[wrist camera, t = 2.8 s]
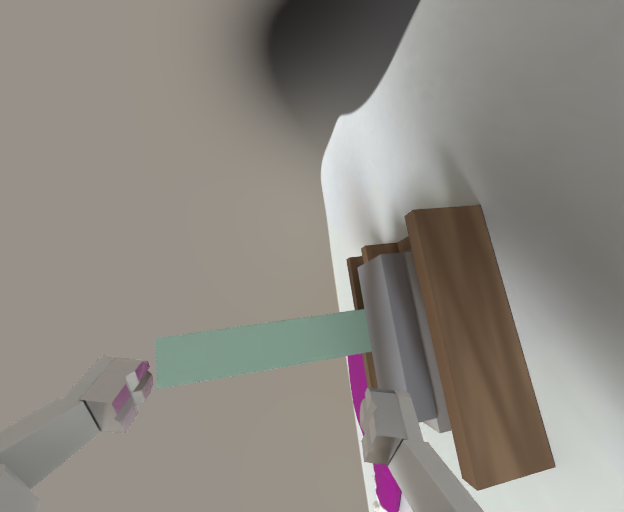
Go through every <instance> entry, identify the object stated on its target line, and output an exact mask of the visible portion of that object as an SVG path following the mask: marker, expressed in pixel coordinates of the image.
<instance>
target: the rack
mask: <svg viewBox="0 0 624 512" xmlns="http://www.w3.org/2000/svg"><path fill="white" fill-rule="evenodd" d="M405 220H406V225H407V230H408V234H409V236H408V237H406V238H405V239H403V240H401V241H400V242H398V243H389V244H379V245H368V246H364V247H363V248H361V251H362V256H360V257H350V258H348V259H347V266H348V272H349V278H350V284H351V290H352V296H353V302H354V308H355V310H360V309H364V303H363V297H362V292H361V286H360V280H359V274H358V269H357V268H358V267H359V266H361V265H363V264H365V263H366V262H368V261H370V260H372V259H373V258H375V257H377V256H379V255H380V254H390V253H400V252H404V251H406V250H408V249H410V248H412V252H413V257H414V261H415V266H416V270H417V275H418V279H419V284H420V289H421V293H422V298H423V302H424V307H425V311H426V316H427V320H428V325H429V329H430V334H431V338H432V343H433V347H434V352H435V357H436V361H437V366H438V370H439V375H440V379H441V384H442V388H443V393H444V397H445V402H446V406H447V411H448V415H449V420H450V425H451V429H452V434H453V438H454V443H455V447H456V452H457V456H458V461H459V465H460V470H461V474H462V479H464V480H465V481H466V482H467V483H469V484H470V485H471V486H472V487H474V488H475V489H476V490H477V491H478V490H482V489H485V488H488V487H492V486H495V485H498V484H501V483H505V482H508V481H511V480H514V479H518V478H521V477H524V476H528V475H531V474H534V473H537V472H541V471H544V470H547V469H550V468H554V467H555V464H554V461H553V457H552V454H551V450H550V447H549V443H548V440H547V436H546V433H545V429H544V426H543V422H542V419H541V415H540V412H539V408H538V405H537V401H536V398H535V394H534V391H533V387H532V384H531V380H530V377H529V373H528V370H527V366H526V363H525V359H524V356H523V352H522V349H521V345H520V342H519V338H518V335H517V331H516V328H515V324H514V321H513V317H512V314H511V310H510V307H509V303H508V300H507V296H506V293H505V290H504V286H503V283H502V279H501V276H500V272H499V269H498V265H497V262H496V258H495V255H494V251H493V248H492V244H491V241H490V237H489V234H488V230H487V227H486V223H485V220H484V216H483V213H482V209H481V206H480V205H477V206H462V207H447V208H433V209H418V210H412V211H411V212H410V213H408V214H407V215H406V216H405ZM362 356H363V362H364V368H365V374H366V380H367V386H368V388H377V389H378V384H377V378H376V372H375V366H374V361H373V355H372V352H366V353H362Z"/></svg>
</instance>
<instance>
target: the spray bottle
mask: <svg viewBox="0 0 624 512" xmlns="http://www.w3.org/2000/svg"><path fill="white" fill-rule="evenodd" d="M348 365H349V375H350V383H351V390H352V397H353V404H354V408H355V412H356V416H357V419H358V422H359V425H360V407H361V403H362V400H363V399H365V392H366V389H367V388H368V386H367V380H366V374H365V368H364V362H363V356H362V353H361V354H355V355H349V356H348ZM360 428H361V426H360ZM361 430H362V428H361ZM362 433H363V436H364V434H365V433H364V431H363V430H362ZM373 465H374V471H375V475H374V476H373V480H374V485H375V491H376V496H377V501H374V503H373V508H374V510H375V512H398V511H399V505H400V498H401V489H400V487H399V486H398V484H397V482H396V480H395V479H394V477H393V475H392V473H391V471H390V470H389V468H388V465H383V464H376V463H373Z"/></svg>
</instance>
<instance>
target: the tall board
mask: <svg viewBox="0 0 624 512" xmlns="http://www.w3.org/2000/svg"><path fill="white" fill-rule="evenodd" d="M366 352H372V349H371V343H370V338H369V332H368V326H367V320H366V315H365V309H360V310H353V311H346V312H339V313H332V314H325V315H318V316H311V317H304V318H297V319H289V320H282V321H276V322H269V323H262V324H255V325H247V326H240V327H234V328H225V329H218V330H212V331H205V332H198V333H190V334H183V335H176V336H169V337H163V338H157V339H156V371H157V372H156V376H157V389H160V388H165V387H171V386H177V385H183V384H188V383H194V382H200V381H205V380H211V379H217V378H223V377H229V376H234V375H239V374H246V373H251V372H257V371H263V370H269V369H275V368H280V367H286V366H292V365H298V364H303V363H308V362H314V361H320V360H326V359H332V358H337V357H343V356H349V355H355V354H361V353H366Z"/></svg>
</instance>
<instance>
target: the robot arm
mask: <svg viewBox="0 0 624 512" xmlns="http://www.w3.org/2000/svg"><path fill="white" fill-rule="evenodd" d="M149 367H150V366H149V363H148V361H143V360H136V359H129V358H121V357H115V356H106V355H103V356H102V357H100V358H99V359H97V360H96V362H95V363H94V364H93V365H92V366H91V367H90V368H89V369H88V370H87V372H86V373H85V374H84V375H83V376H82V377H81V378H80V379H79V381H78V382H77V383H76V384H75V385H74V386H73V387H72V388H71V389H70V390H69V392H68V393H67V394H66V395H65V396H64V397H63V398H57V399H55V400H54V401H52V402H50V403H48V404H46V405H45V406H43V407H41V408H40V409H38V410H36V411H34V412H32V413H31V414H29V415H27V416H25V417H24V418H22V419H20V420H18V421H17V422H15V423H13V424H11V425H9V426H8V427H6V428H4V429H2V430H1V431H0V512H36V510H37V509H38V507H39V506H40V503H41V502H40V501H41V500H40V498H39V497H38V496H37V495H36V494H35V493H34V492H33V491H32V490H31V489H32V488H33V487H34V486H36V485H37V484H38V483H39V482H41V481H42V480H43V479H44V478H45V477H47V476H48V475H49V474H50V473H52V472H53V471H54V470H55V469H57V468H58V467H59V466H60V465H62V464H63V463H64V462H65V461H66V460H68V459H69V458H70V457H71V456H72V455H74V454H75V453H76V452H78V451H79V450H80V449H81V448H82V447H84V446H85V445H86V444H87V443H89V442H90V441H91V440H92V439H94V438H95V437H96V436H97V435H98V434H99V433H100V431H104V432H115V433H126V432H127V430H128V429H129V427H130V426H131V424H132V422H133V421H134V419H135V417H136V416H137V414H138V411H137V407H138V406H139V405H141V404H142V403H143V402H145V401H146V399H147V398H148V396H149V394H150V392H151V389H152V386H153V376H152V374H151V373H150V372H149V371H147V370H148V369H149ZM360 426H361V428H362V430H363V431H364V433H365V434H364V436H363V439H362V447H363V456H364V462H369V463H376V464H383V465H388V468H389V470H390V471H391V473H392V475H393V477H394V479H395V480H396V482H397V484H398V486H399V487H400V489H401V491H402V493H403V494H404V496H405V498H406V500H407V501H408V503H409V505H410V507H411V508H412V510H413V512H484V511H483V510H482V509H481V507H480V506H479V505H478V504H477V502H476V501H475V500H474V499H473V497H472V496H471V495H470V494H469V492H468V491H467V490H466V489H465V488H464V486H463V485H462V484H461V483H460V481H459V480H458V479H457V478H456V476H455V475H454V474H453V473H452V471H451V470H450V469H449V468H448V467H447V465H446V464H445V463H444V462H443V460H442V459H441V458H440V457H439V455H438V454H437V453H436V452H435V450H434V449H433V448H432V447H431V446H430V444H429V443H428V442H424V441H423V437H422V434H421V430H420V427H419V423H418V420H417V416H416V413H415V409H414V406H413V402H412V399H411V396H410V394H409V393H408V392H402V391H394V390H387V389H377V388H367V389H366V392H365V399H363V400H362V403H361V407H360Z"/></svg>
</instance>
